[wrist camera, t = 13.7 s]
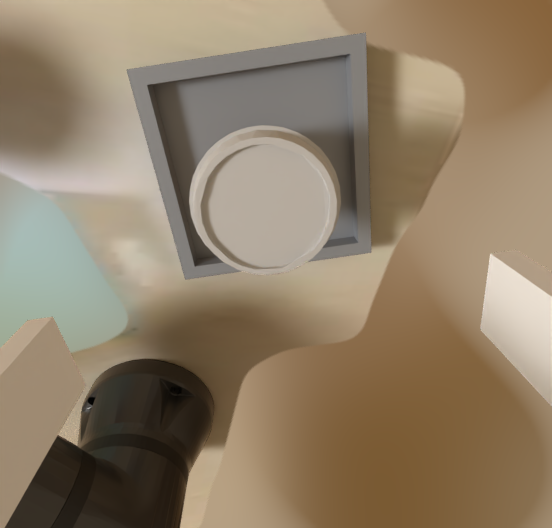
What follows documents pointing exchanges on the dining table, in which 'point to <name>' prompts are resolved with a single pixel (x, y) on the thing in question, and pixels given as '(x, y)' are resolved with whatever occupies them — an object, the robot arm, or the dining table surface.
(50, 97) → the dining table surface
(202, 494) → the dining table surface
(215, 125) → the tray
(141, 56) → the dining table surface
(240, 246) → the disposable coffee cup
